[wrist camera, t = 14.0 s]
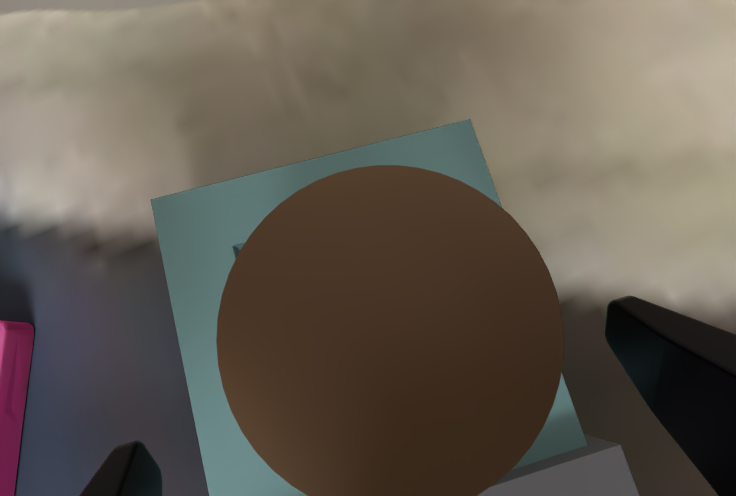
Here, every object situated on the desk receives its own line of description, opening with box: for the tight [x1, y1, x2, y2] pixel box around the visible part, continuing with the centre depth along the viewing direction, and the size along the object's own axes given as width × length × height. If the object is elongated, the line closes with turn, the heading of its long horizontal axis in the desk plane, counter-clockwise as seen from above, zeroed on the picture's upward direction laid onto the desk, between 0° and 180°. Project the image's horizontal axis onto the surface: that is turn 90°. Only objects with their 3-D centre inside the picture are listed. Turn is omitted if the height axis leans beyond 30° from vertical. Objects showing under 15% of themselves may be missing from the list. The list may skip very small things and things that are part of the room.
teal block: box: [151, 119, 587, 496], centre depth 16 cm, size 10×10×4 cm
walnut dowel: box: [216, 165, 564, 496], centre depth 12 cm, size 4×4×13 cm
